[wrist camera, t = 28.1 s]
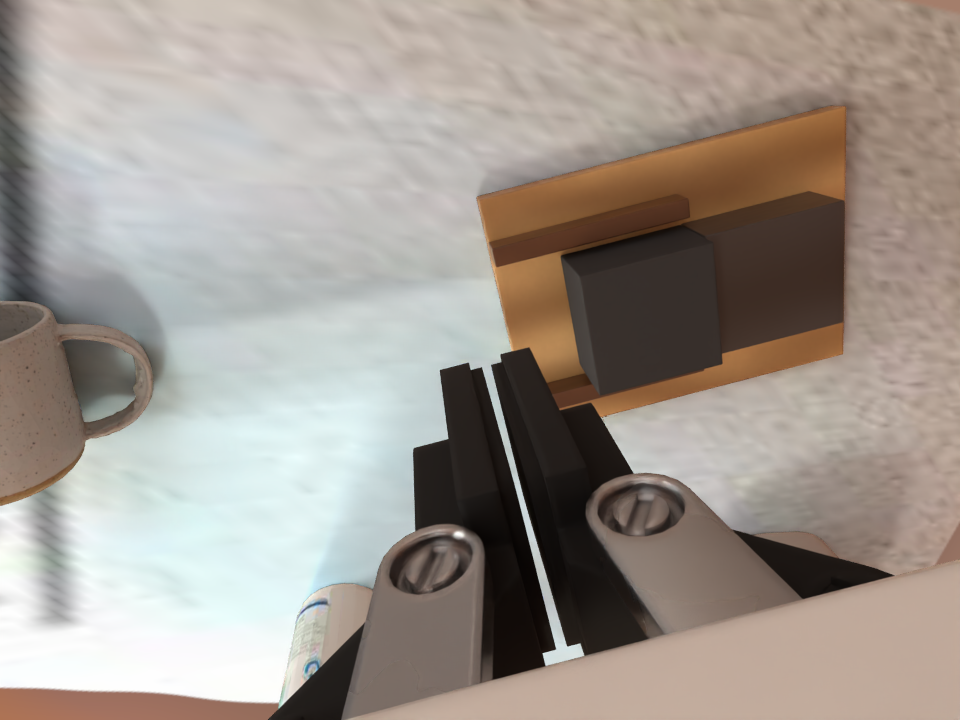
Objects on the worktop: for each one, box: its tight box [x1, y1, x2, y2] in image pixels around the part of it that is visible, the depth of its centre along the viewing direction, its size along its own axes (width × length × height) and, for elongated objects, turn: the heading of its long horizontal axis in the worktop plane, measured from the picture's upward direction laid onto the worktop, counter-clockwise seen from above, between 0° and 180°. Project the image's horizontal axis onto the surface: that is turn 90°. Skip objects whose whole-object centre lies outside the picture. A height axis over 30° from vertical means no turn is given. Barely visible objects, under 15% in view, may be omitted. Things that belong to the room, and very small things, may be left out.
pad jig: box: [477, 106, 846, 417], centre depth 34 cm, size 14×19×4 cm
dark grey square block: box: [560, 225, 723, 396], centre depth 33 cm, size 6×6×4 cm
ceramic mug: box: [0, 301, 153, 506], centre depth 30 cm, size 11×8×8 cm
